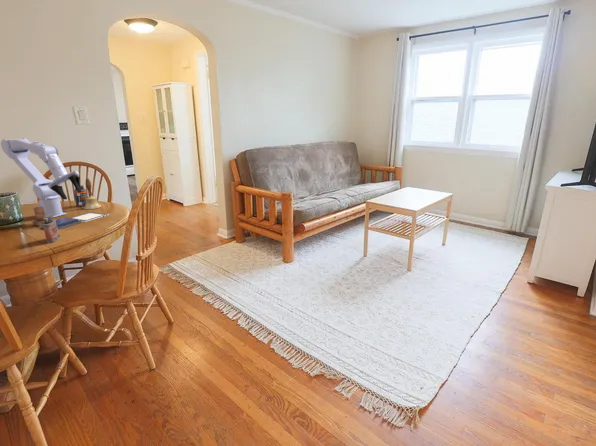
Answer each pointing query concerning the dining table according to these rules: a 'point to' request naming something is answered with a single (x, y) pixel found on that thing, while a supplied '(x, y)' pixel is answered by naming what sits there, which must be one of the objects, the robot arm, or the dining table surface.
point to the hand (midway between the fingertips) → (72, 195)
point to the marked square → (89, 216)
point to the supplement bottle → (80, 197)
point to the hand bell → (90, 198)
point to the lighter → (50, 229)
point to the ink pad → (65, 222)
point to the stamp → (39, 216)
